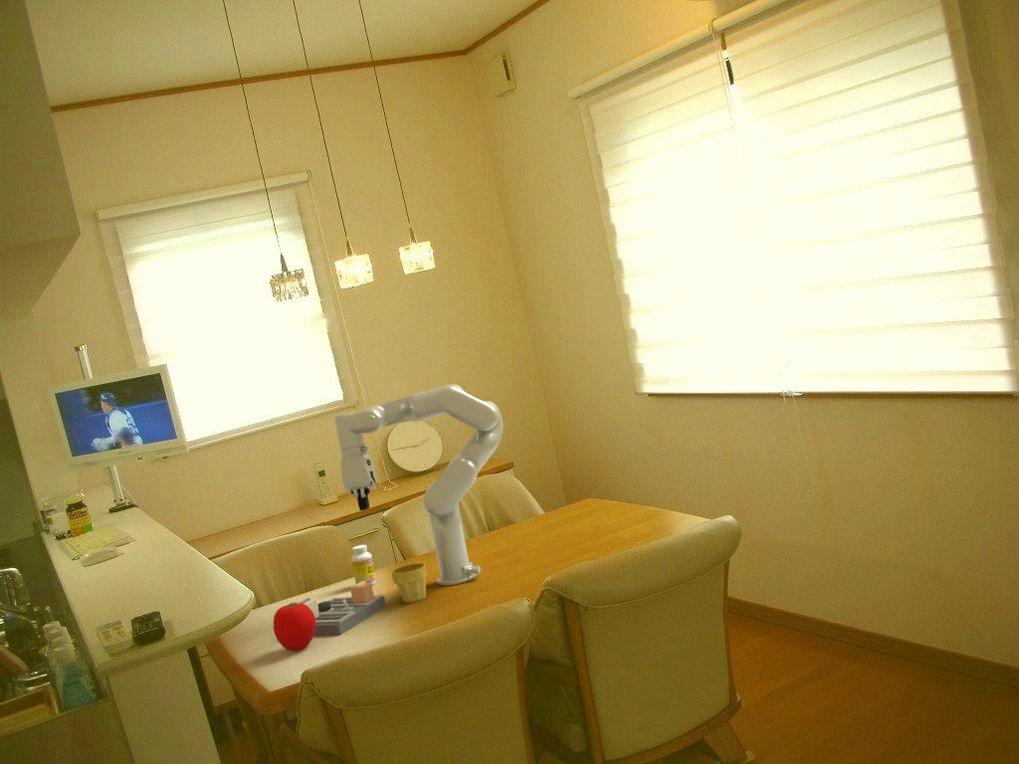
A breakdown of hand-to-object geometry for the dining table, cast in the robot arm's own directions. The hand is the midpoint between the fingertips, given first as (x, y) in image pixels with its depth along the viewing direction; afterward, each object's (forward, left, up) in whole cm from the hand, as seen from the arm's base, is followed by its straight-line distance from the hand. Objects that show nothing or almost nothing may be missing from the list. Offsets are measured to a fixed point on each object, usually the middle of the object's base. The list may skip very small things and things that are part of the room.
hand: (364, 509), depth 317 cm
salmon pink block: (-6, +18, -24) cm, 31 cm away
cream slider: (+4, +32, -24) cm, 40 cm away
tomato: (-3, +47, -27) cm, 54 cm away
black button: (+3, +25, -24) cm, 35 cm away
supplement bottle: (+12, -10, -27) cm, 31 cm away
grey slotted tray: (-1, +25, -27) cm, 37 cm away
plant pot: (-17, +8, -27) cm, 33 cm away
